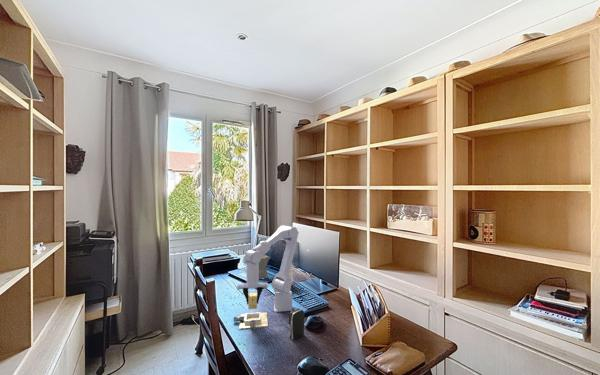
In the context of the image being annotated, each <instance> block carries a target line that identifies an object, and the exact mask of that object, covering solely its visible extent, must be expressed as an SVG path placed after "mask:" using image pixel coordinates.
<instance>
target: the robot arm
mask: <svg viewBox="0 0 600 375" xmlns="http://www.w3.org/2000/svg"><path fill="white" fill-rule="evenodd" d="M299 233H300V232H299V230H298V228H297V227H296V226H290V225H289V226H288V225H283V224H282V225H280V226H279V227H278V228H277V229H276V231H275V232H274V233H273V234H272V235H271V236H270V237H269V238H268V239H266V240H261V241H260V242H259V243H258V244H257V245H256V246H254V247H253V248H252V249H249V250H247V251H246V252H245V253H244V256H243V258H244V261H245V265H246V282H244V283H239V284H237V285H236V287H237V288H236V289H237V291H240V290H242V294H243V295H244V298H245V301H246V305H248V295H249V289H251V290H253V289H256V293H257V305H258V304H259V301H260V298H261V295H262V292H263V289H264V288H265V289H268V288H269V285H268V284H269V283H268V282H260V280H259V262H260V260H261V258H262V256H263V255H266V253H268V252H269V251H270V250H271V246H273V245H274V244H276V243H277V242H278V241H279V240H282V239H283V241H285V243H286V244H285V248H284V252H283V255H282V260H281V264H280V268H279V271H278V272H277V273H276V274H274V278H273V280H272V282H271V287H272V289H273V291H274V304H273V311H274V313H276V312H289V311H290V312H291V311H293V292H292V290H291V289H292V287H291V280H292V279H291V277H290V276H289V272H290V268H291V264H293V260H294V255H295V252H296V248H297V243H298V237H299ZM281 278H282V279H281ZM283 279H284V280H283Z"/></svg>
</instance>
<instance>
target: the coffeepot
mask: <svg viewBox="0 0 600 375" xmlns="http://www.w3.org/2000/svg"><path fill="white" fill-rule="evenodd" d="M271 258H272V257H271V256H268V255H266V254H264V255H263V256H262V258H261V260H260V262H259V279H262V278H266V277H267V276H268V270H267V265H268V262H269V260H270V259H271ZM268 277H269V276H268Z"/></svg>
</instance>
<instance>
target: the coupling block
mask: <svg viewBox="0 0 600 375" xmlns="http://www.w3.org/2000/svg"><path fill="white" fill-rule="evenodd" d="M247 306H248V310H257V309H258V304H257V292H248V304H247Z"/></svg>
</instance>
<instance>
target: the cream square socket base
mask: <svg viewBox="0 0 600 375" xmlns="http://www.w3.org/2000/svg"><path fill="white" fill-rule="evenodd" d="M233 322H234V323H235V322H239V330H247V329H248V330H249V329H250V330H251V331H252V330H255V329H258V328H259V329H260V328H268V327H269V324H268V313H267V311H266V312H259V311H258V312H247V313H243V314H242V313H241V314H240V316H234V317H233Z"/></svg>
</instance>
